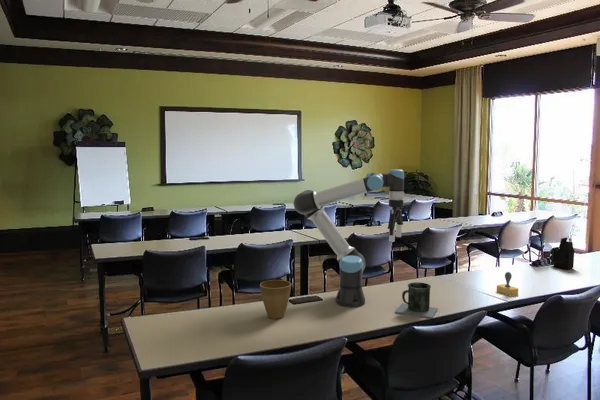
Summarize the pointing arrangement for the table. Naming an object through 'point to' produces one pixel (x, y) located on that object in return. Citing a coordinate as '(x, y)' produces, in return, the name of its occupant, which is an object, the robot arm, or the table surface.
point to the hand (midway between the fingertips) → (395, 239)
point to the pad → (406, 311)
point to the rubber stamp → (507, 286)
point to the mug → (418, 296)
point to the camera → (563, 255)
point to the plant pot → (275, 297)
